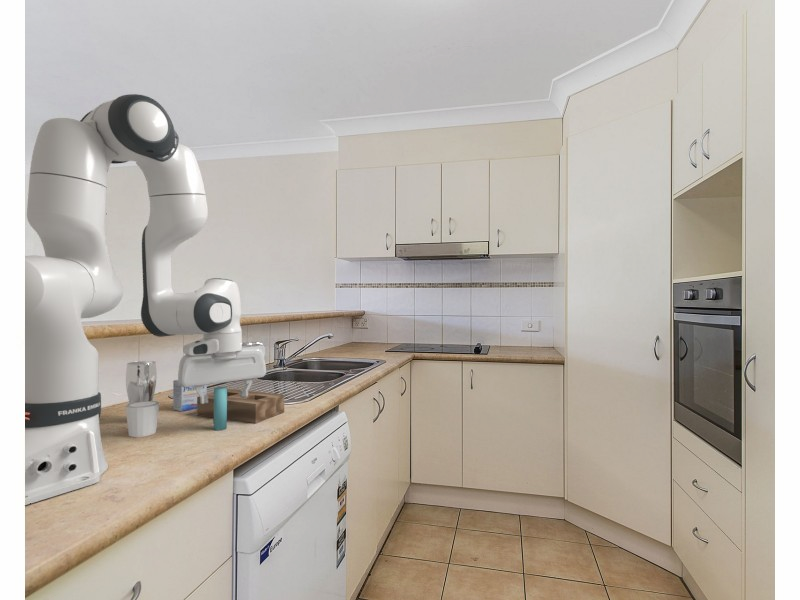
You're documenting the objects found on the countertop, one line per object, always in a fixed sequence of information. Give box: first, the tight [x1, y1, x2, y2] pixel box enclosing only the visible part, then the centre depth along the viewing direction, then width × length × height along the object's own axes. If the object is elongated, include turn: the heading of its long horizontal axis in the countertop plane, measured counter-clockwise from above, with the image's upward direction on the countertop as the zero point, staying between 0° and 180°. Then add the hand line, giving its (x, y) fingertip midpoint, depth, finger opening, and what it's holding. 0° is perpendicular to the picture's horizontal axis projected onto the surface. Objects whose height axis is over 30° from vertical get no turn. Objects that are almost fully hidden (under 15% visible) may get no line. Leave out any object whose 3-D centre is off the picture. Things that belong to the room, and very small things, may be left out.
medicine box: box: [172, 379, 208, 413], centre depth 126 cm, size 8×4×9 cm, turn 146°
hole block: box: [196, 388, 285, 424], centre depth 120 cm, size 12×20×5 cm, turn 69°
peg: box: [213, 386, 228, 431], centre depth 106 cm, size 3×3×10 cm
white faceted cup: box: [125, 400, 160, 438], centre depth 102 cm, size 7×7×7 cm
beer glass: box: [125, 360, 158, 404], centre depth 113 cm, size 7×7×15 cm
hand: (224, 400), depth 106 cm, fingers open, 8 cm apart
